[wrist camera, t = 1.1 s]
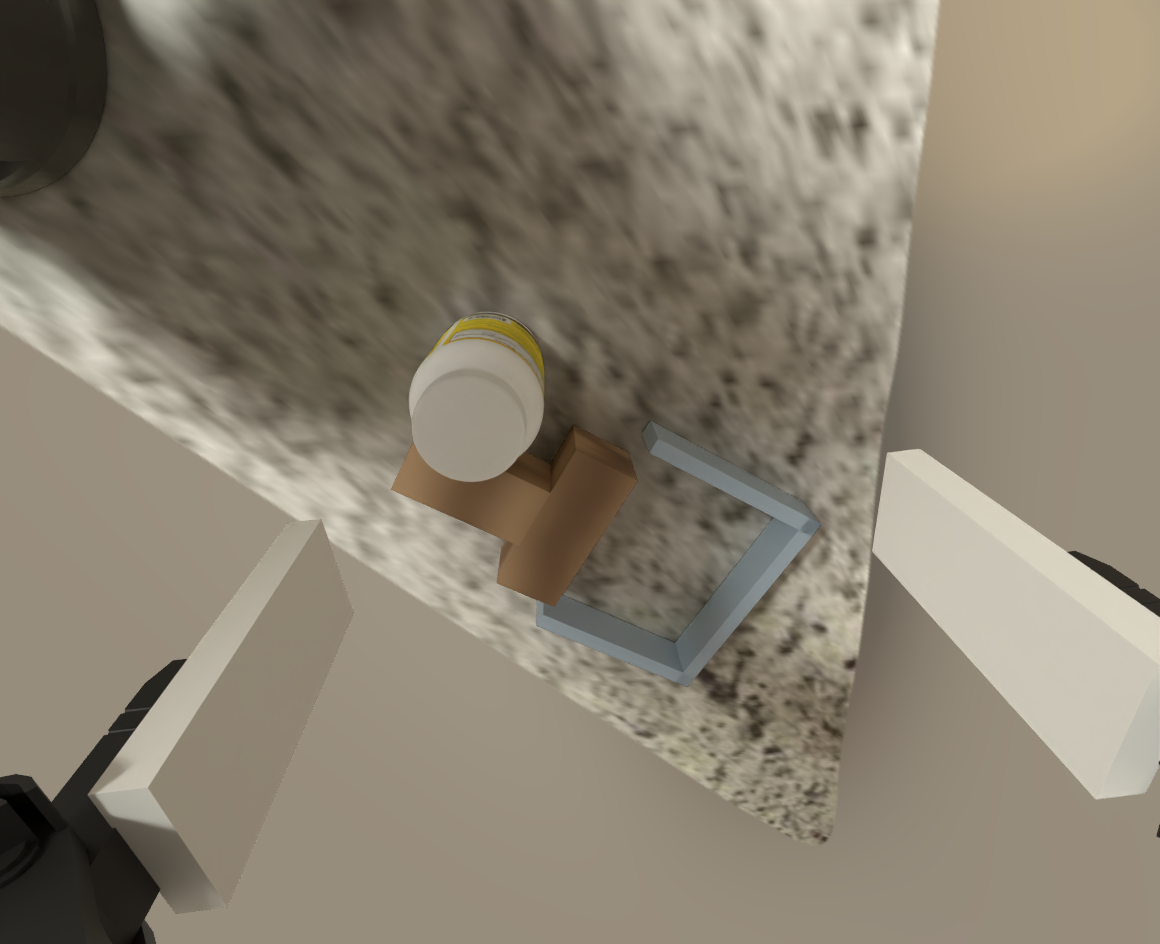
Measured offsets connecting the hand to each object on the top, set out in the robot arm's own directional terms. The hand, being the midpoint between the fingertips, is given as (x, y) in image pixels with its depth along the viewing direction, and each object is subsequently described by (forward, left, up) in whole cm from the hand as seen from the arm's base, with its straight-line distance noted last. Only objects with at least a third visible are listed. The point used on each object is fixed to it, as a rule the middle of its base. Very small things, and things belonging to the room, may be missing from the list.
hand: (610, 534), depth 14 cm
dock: (+12, -10, -22) cm, 27 cm away
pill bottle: (-4, -4, -22) cm, 23 cm away
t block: (0, -10, -22) cm, 24 cm away
